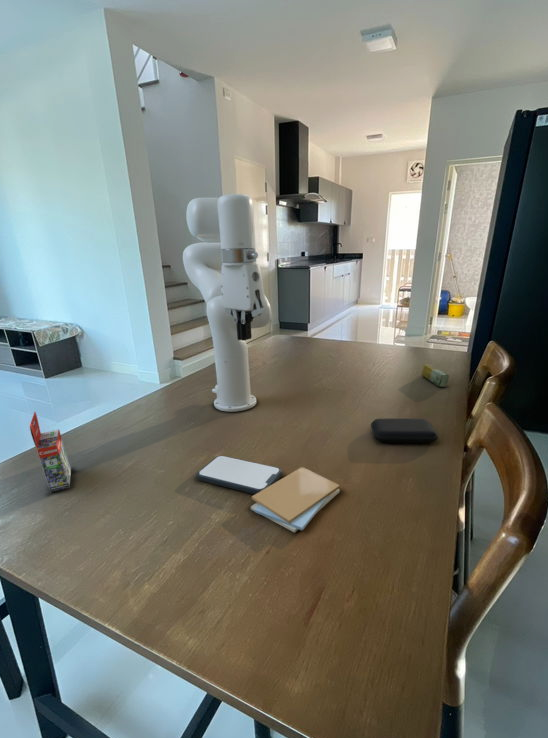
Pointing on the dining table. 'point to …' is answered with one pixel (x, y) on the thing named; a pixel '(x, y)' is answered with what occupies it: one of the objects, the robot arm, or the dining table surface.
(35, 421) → the ink box
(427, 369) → the medication box
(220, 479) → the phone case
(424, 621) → the dining table surface
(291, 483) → the envelope pile
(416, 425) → the carrying case
